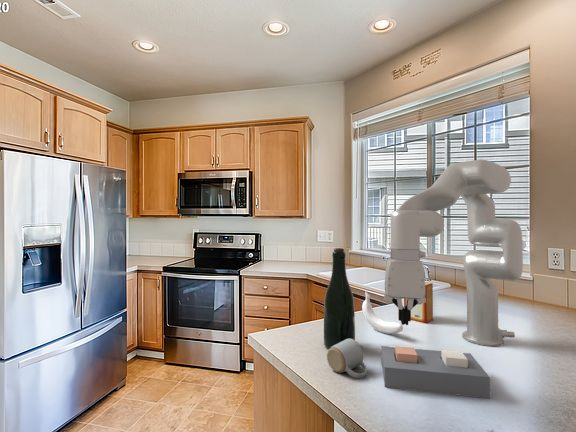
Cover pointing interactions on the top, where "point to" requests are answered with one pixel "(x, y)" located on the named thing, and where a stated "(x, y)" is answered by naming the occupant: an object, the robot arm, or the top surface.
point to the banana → (378, 323)
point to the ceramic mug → (346, 357)
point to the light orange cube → (405, 354)
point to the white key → (454, 358)
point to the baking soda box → (423, 306)
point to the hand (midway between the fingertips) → (404, 323)
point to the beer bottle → (338, 304)
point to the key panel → (434, 374)
